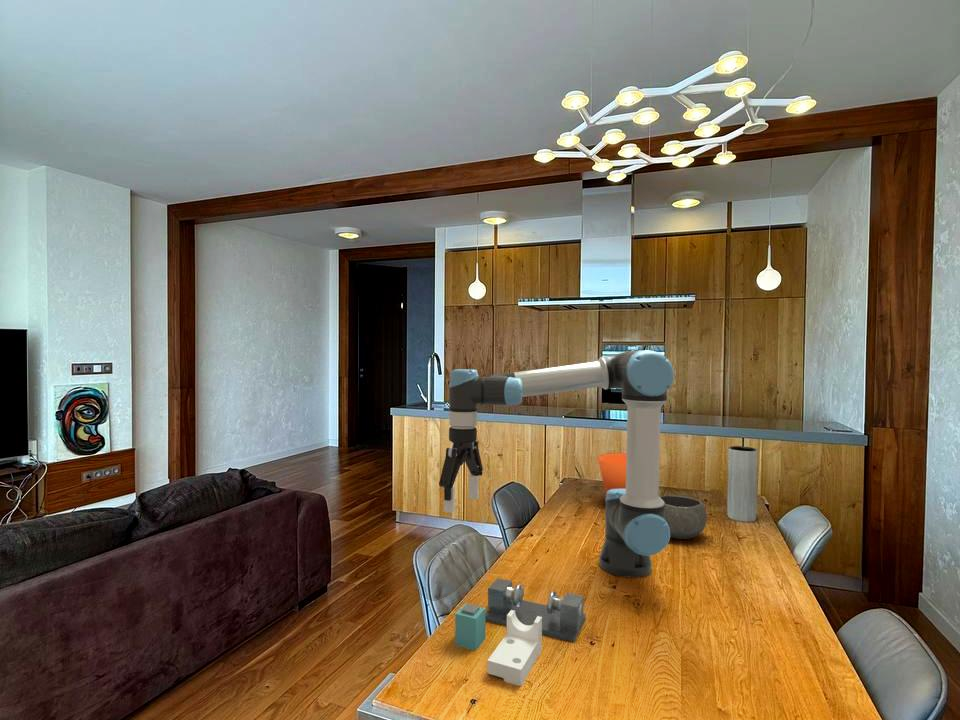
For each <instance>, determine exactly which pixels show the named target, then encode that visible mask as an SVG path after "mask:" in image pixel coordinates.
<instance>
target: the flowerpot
mask: <svg viewBox="0 0 960 720" xmlns="http://www.w3.org/2000/svg"><path fill="white" fill-rule="evenodd" d="M626 455H627V452H608V453H603V454H599V455H598V456H597V461H598V465H599V471H600V474H601V478H602V483H603V489H604V492H605V494H606V493H607V491H609V490H611V489H626ZM661 462H662V461H661V460H660V462H659V468H660V466H661Z"/></svg>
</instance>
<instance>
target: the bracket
mask: <svg viewBox="0 0 960 720" xmlns="http://www.w3.org/2000/svg"><path fill="white" fill-rule="evenodd" d="M542 639H543V635H542V617H540V616H537V618H536V619H535V621H534V624H533V625H524V624H522V623H521V622H520V621H519V620H518V619H517V617H516V614H515V611H514V610H511V611H510V612H509V613H508V615H507V626H506V634H505V636H504V637H503V639H502V640H500V642H499V644H498V645H497V646H496V648H495V650H494V651H493V652H492V654H491V655H489V657H488V659H487V665H486V667H487V670H486V671H487V674H489V675H492V676H495V677H499V678H502V679H503V682H504V683H509V684H510V685H511V684H512V685H515V686H517V687H518V686H519V687H522V686H523V684H524V682H525V680H526V679H527V677H528V675H529V673H530V671H531V670H532V668H533V666H534V665H535V663H536V661H537V659H538V657H539V656H540V654H541V652H542V649H543V648H542V643H543V641H542Z"/></svg>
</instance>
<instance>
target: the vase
mask: <svg viewBox="0 0 960 720" xmlns="http://www.w3.org/2000/svg"><path fill="white" fill-rule="evenodd" d="M757 489H758V449H757V448H755V447H751V446H750V447H749V446H743V445H742V446H741V445H740V446H739V445H733V446H729V447H728V452H727V501H726V502H727V503H726V505H727V507H726V509H727V510H726V514H727V518H728V519H731V520H733V521H735V522H736V521H737V522H742V523H751V522H752V523H753V522H755V521H756V520H757V502H758V501H757V500H758V499H757V498H758V497H757V496H758V495H757V494H758V490H757Z"/></svg>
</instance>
